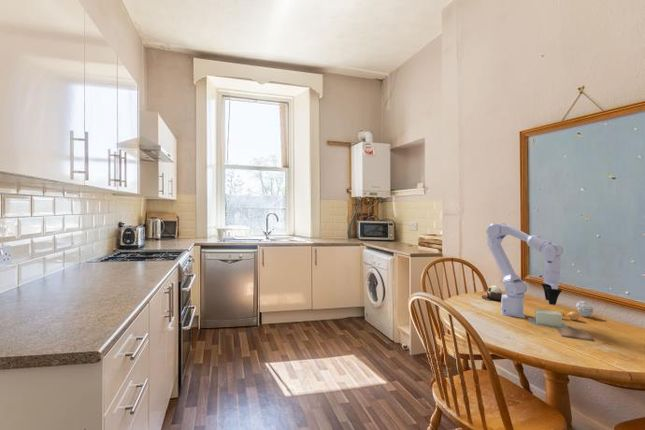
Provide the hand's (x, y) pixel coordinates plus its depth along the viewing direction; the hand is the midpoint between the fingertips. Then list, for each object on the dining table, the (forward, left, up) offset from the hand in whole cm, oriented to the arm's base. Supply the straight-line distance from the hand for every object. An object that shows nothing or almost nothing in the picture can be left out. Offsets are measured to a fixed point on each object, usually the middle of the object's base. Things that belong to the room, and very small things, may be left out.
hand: (550, 302), depth 149 cm
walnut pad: (+6, -12, -9) cm, 16 cm away
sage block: (-1, 0, -9) cm, 9 cm away
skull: (-20, +36, -10) cm, 42 cm away
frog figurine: (+17, +22, -10) cm, 29 cm away
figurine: (+13, +12, -9) cm, 19 cm away
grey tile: (-1, -1, -9) cm, 9 cm away
